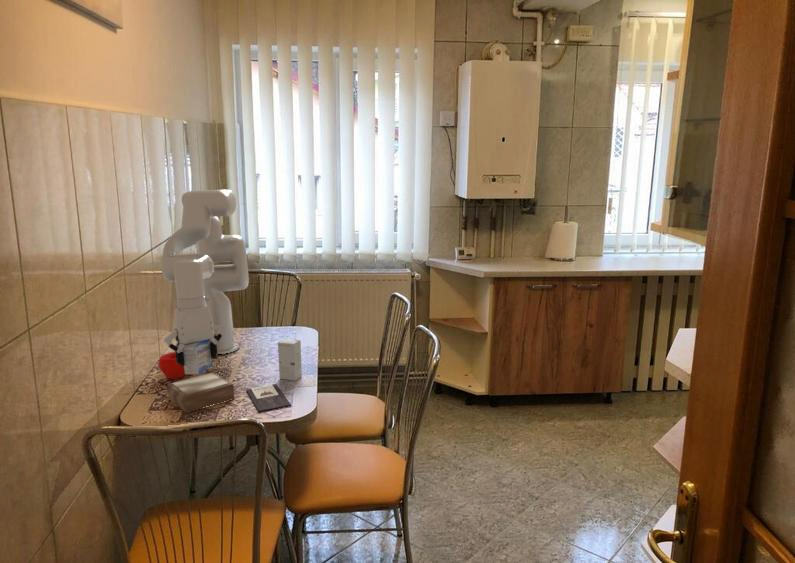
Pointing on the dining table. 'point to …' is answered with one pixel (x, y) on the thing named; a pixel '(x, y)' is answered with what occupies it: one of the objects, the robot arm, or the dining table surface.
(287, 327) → the dining table surface
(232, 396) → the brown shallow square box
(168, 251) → the robot arm
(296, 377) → the skincare box
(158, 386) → the dining table surface
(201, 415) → the dining table surface
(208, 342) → the medicine box
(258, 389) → the chocolate bar
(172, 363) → the apple
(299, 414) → the dining table surface
